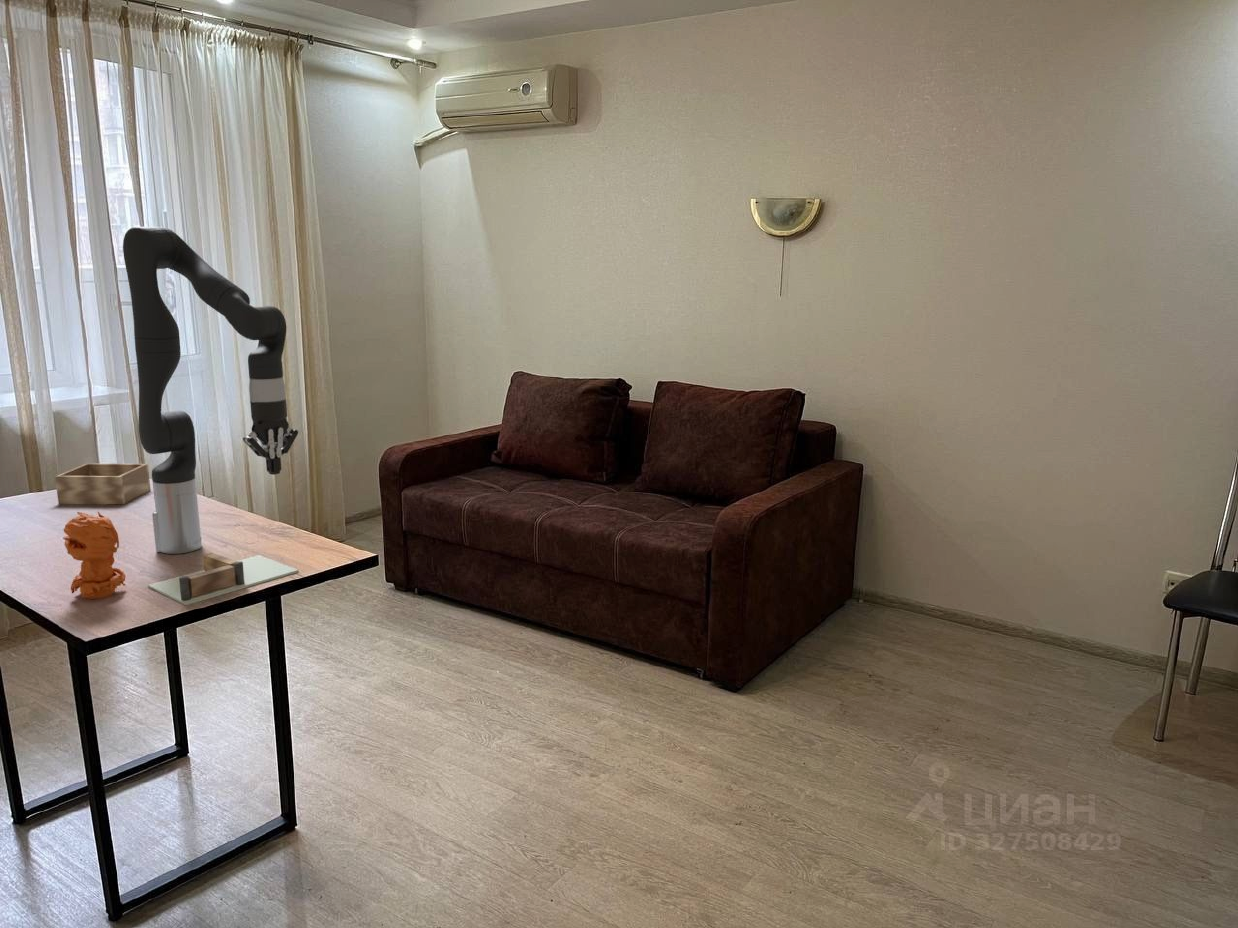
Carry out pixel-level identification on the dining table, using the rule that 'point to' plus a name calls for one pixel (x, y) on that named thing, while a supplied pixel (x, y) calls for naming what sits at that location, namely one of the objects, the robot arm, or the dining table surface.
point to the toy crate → (102, 483)
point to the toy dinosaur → (93, 555)
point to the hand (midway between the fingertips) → (274, 473)
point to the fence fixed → (211, 580)
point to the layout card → (254, 573)
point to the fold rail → (216, 561)
